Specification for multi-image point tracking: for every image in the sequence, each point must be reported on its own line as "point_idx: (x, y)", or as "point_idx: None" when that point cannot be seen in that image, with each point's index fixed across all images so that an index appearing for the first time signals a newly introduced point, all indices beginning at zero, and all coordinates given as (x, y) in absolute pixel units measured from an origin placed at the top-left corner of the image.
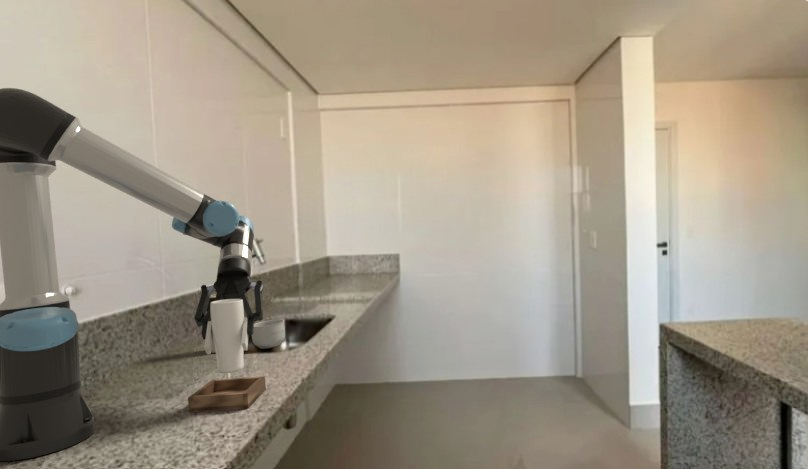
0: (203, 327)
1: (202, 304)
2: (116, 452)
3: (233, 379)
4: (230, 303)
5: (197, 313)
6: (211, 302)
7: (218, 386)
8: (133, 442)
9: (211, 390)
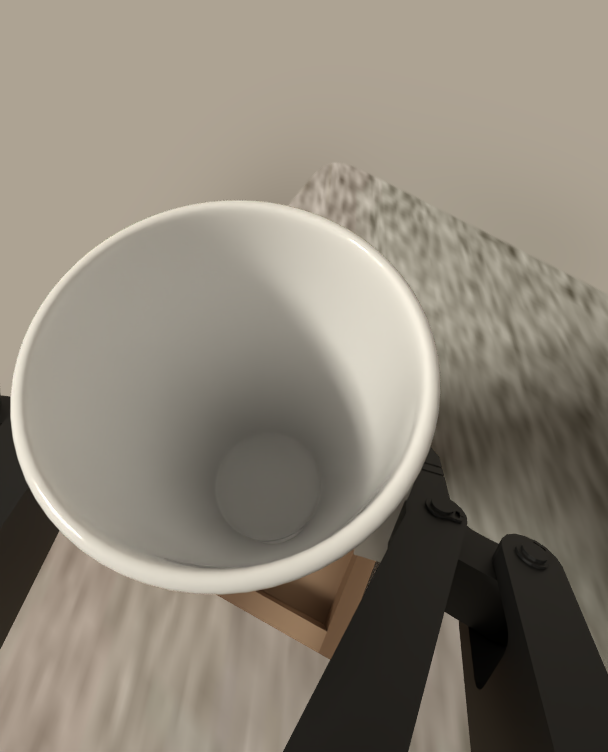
0: (438, 485)
1: (578, 746)
2: (528, 290)
3: (253, 592)
4: (222, 209)
5: (560, 602)
6: (427, 379)
7: (312, 620)
8: (508, 322)
9: (340, 587)
